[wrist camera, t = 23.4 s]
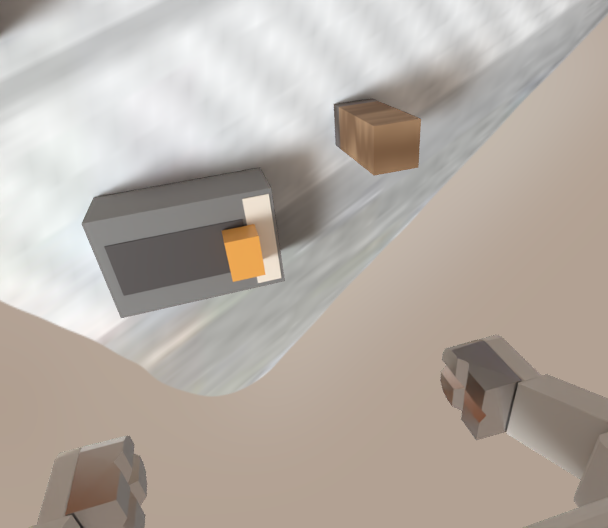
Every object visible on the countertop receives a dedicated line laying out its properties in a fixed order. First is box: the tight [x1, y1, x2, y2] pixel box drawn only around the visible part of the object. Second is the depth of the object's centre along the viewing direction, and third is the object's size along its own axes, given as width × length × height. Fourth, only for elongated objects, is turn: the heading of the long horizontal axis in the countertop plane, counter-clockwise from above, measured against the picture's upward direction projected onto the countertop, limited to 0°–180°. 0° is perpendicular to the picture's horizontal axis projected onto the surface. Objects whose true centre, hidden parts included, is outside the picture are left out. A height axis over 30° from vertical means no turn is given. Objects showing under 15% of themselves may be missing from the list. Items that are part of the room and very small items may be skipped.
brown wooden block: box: [334, 99, 421, 175], centre depth 39 cm, size 4×4×10 cm
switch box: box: [82, 168, 285, 318], centre depth 41 cm, size 10×16×6 cm, turn 96°
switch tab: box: [222, 224, 266, 282], centre depth 38 cm, size 4×3×2 cm
